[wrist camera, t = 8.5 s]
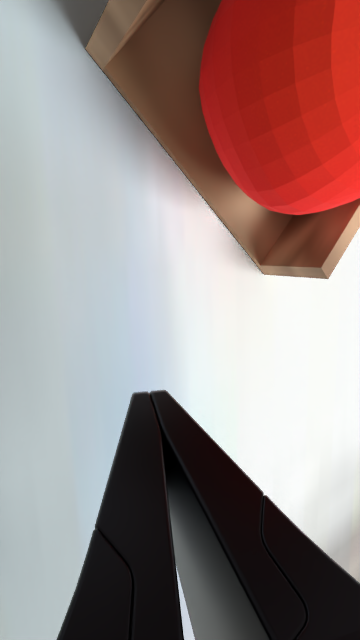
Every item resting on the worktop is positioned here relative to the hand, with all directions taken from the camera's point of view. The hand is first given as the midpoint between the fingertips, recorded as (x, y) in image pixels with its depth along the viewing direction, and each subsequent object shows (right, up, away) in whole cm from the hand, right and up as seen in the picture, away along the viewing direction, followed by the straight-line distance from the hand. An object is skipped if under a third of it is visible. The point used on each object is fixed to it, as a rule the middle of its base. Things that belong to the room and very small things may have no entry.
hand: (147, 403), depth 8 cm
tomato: (+5, +14, +11) cm, 19 cm away
